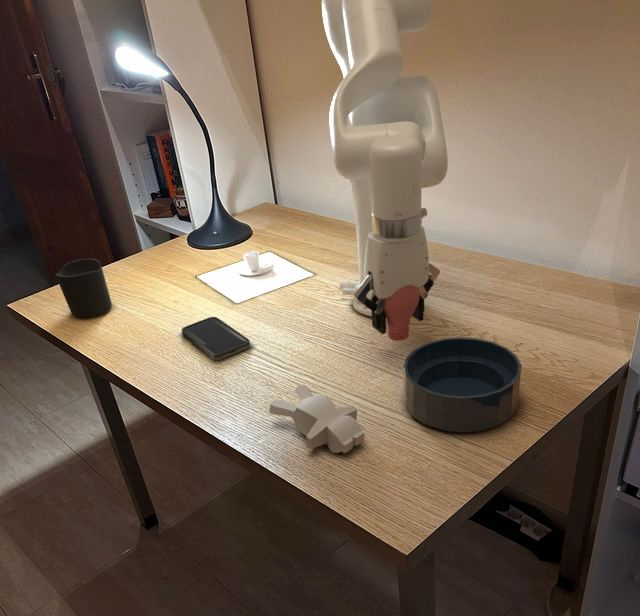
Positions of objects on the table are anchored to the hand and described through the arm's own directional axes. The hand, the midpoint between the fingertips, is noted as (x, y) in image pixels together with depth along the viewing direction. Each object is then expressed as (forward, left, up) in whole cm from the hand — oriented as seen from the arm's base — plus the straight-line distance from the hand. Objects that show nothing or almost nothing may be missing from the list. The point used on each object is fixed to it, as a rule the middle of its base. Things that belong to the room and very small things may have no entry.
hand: (398, 323), depth 109 cm
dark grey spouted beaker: (-70, +8, -6) cm, 70 cm away
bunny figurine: (-7, -25, -6) cm, 27 cm away
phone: (-36, -1, -5) cm, 36 cm away
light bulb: (0, 0, -4) cm, 4 cm away
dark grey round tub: (+12, -14, -5) cm, 19 cm away
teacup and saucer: (-40, +29, -6) cm, 49 cm away
